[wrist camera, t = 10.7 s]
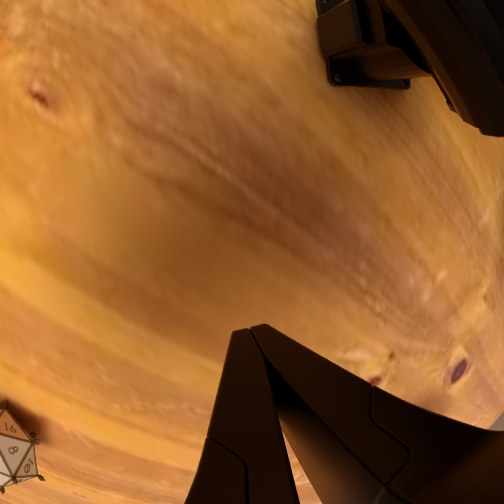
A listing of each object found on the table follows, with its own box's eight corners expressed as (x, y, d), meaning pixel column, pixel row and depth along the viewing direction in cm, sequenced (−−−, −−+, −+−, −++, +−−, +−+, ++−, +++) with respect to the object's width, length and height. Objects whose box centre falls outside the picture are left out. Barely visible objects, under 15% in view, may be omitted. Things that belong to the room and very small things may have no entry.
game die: (4, 386, 23) (-68, 402, 13) (52, 401, 21) (-33, 429, 12) (24, 458, 22) (-37, 486, 12) (76, 481, 20) (9, 524, 11)
